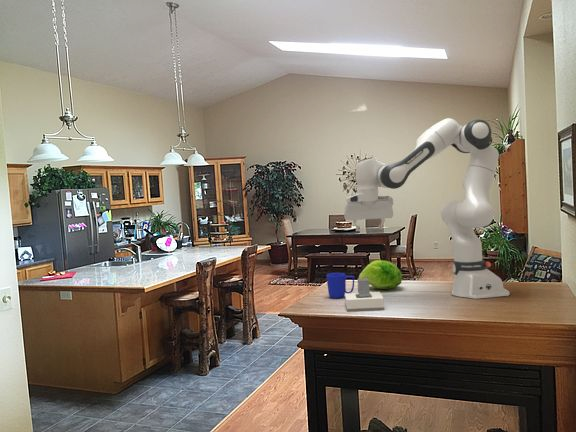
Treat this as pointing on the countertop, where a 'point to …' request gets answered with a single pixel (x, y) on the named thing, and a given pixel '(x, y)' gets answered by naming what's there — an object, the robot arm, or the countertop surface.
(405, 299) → the countertop surface
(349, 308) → the well block
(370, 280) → the lettuce
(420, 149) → the robot arm
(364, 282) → the grey brushed prism
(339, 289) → the mug
